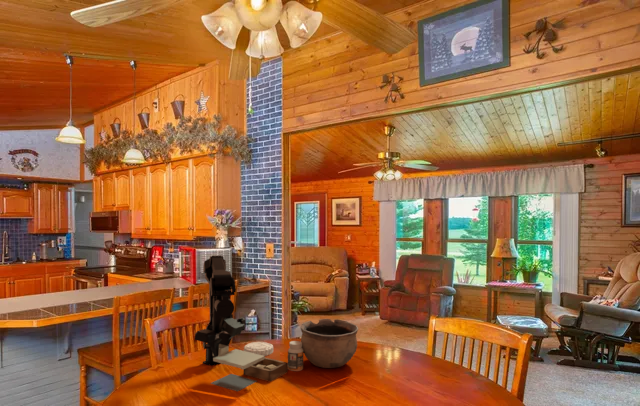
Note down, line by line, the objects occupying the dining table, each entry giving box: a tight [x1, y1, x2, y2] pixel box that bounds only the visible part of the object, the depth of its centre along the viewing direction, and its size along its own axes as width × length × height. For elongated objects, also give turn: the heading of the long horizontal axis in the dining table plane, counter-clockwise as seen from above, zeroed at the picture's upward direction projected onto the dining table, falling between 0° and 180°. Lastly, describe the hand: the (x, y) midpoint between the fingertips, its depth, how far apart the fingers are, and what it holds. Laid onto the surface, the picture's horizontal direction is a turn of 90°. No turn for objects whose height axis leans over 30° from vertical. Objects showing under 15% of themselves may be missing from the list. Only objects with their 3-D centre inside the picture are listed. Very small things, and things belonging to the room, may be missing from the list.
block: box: [265, 365, 277, 370], centre depth 150 cm, size 3×3×2 cm
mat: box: [210, 373, 258, 392], centre depth 141 cm, size 12×10×1 cm
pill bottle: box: [287, 340, 304, 372], centre depth 155 cm, size 6×6×10 cm
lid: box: [213, 344, 266, 371], centre depth 142 cm, size 17×11×4 cm, turn 59°
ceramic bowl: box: [299, 318, 359, 369], centre depth 161 cm, size 22×22×15 cm
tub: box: [243, 356, 289, 383], centre depth 150 cm, size 12×10×4 cm
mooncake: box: [243, 341, 274, 357], centre depth 173 cm, size 12×12×4 cm
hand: (220, 355), depth 145 cm, fingers closed on lid, 4 cm apart
